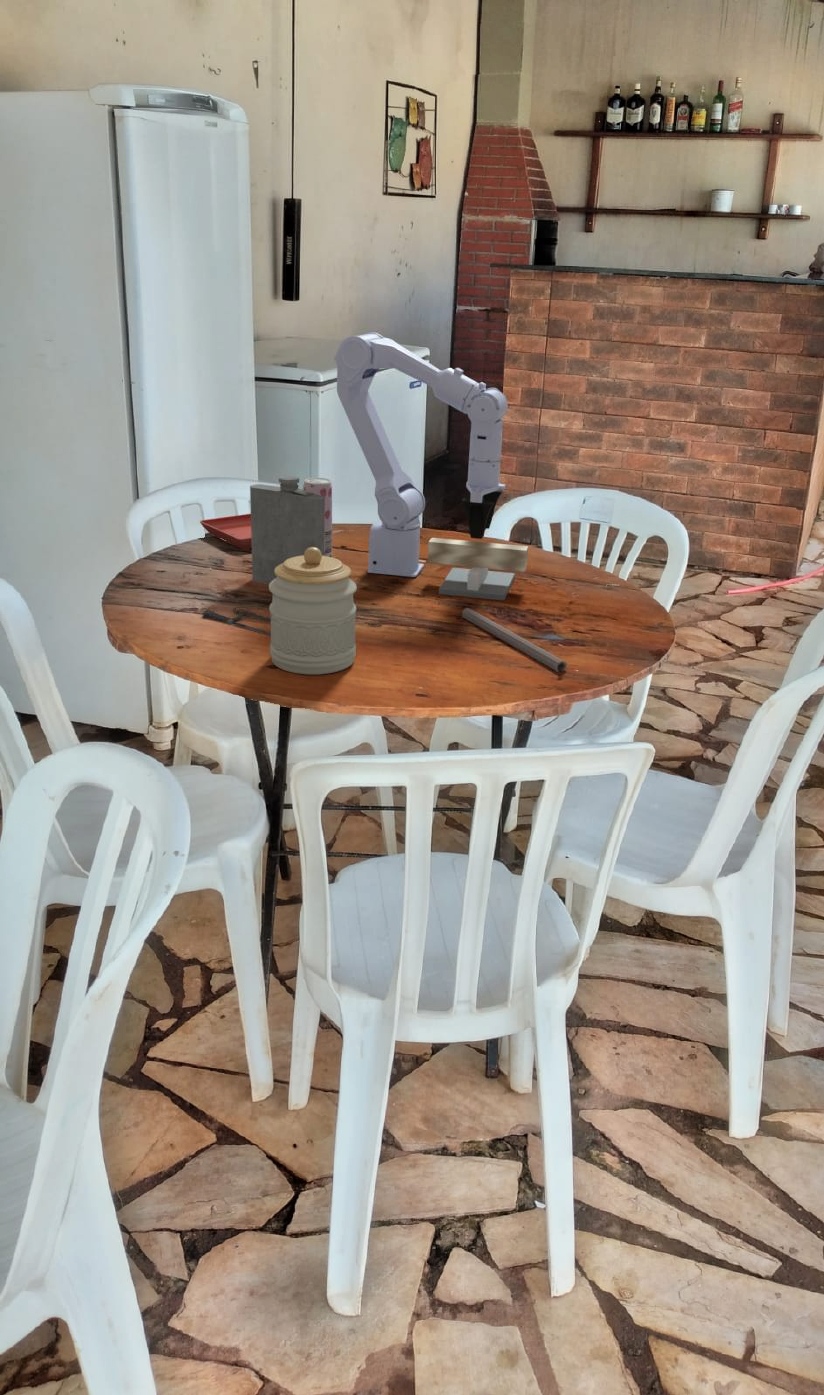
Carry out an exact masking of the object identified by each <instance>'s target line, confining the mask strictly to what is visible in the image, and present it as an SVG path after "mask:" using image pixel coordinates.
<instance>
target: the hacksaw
mask: <svg viewBox="0 0 824 1395" xmlns="http://www.w3.org/2000/svg"><path fill="white" fill-rule="evenodd" d="M239 608H240V609H241V608H242V609H243V608H244V609H247V610H248V611H247V610H237V609H239ZM233 612H234V613H237V616H235V617H232V618H231V617H228V616H225V615H222V614H220V613H217V612H215V611H214V610H212V609H206V610H205V611H203V612H201V614H202V618H203V619H210V620H214V621H217V622H221V623H225V624H228V625H234V626H237V627H240V628H244V629H245V630H249V631H253V632H255V633H256V632H257V633H260V634H262V635H266V636H269V637H271V631H270V632H269V631H266V630H263V629H260V628H257V627H254V626H252V625H251V626H250V625H248V624H244V623H240V622H239V621H242V620H243V619H244V618H245V617H248V618H251V619H254V620H258V621H262V622H266V623H268V624H271V617H266V616H264V615H260V614H256V613H254V612H251V609H249V608H247V607H244V606H235V607H233Z"/></svg>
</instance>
